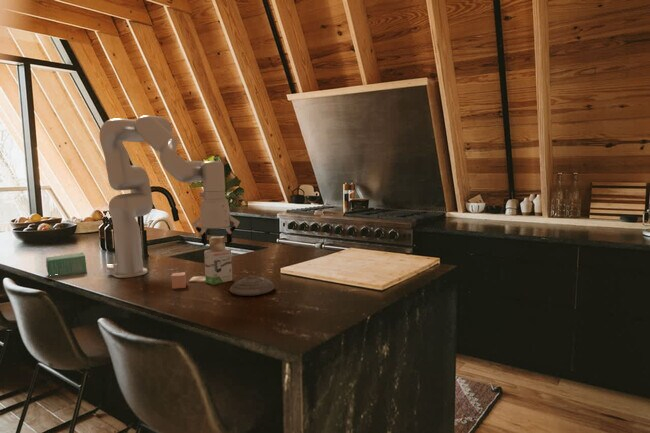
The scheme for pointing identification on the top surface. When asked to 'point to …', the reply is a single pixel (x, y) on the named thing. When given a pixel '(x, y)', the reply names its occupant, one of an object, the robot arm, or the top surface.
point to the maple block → (217, 243)
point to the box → (66, 265)
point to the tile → (198, 279)
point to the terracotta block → (178, 280)
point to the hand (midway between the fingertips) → (217, 244)
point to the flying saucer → (252, 286)
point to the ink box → (218, 266)
